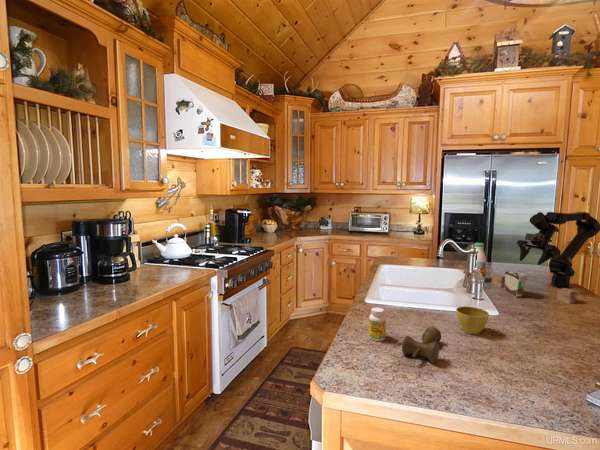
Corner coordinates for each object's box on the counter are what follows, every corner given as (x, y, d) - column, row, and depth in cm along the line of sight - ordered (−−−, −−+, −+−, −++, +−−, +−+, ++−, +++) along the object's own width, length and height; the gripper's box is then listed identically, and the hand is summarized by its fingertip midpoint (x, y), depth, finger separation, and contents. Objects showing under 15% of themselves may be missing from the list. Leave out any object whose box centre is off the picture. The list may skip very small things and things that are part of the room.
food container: (532, 299, 155) (534, 277, 154) (518, 299, 155) (520, 277, 154) (515, 290, 167) (517, 270, 166) (502, 290, 168) (504, 270, 166)
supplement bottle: (385, 335, 116) (386, 307, 115) (384, 342, 111) (385, 313, 110) (369, 333, 118) (370, 305, 117) (367, 340, 113) (368, 311, 112)
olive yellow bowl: (461, 323, 128) (462, 304, 127) (491, 331, 120) (493, 311, 120) (450, 331, 121) (451, 311, 120) (481, 340, 113) (483, 319, 113)
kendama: (449, 346, 110) (430, 372, 94) (418, 339, 116) (395, 362, 100) (449, 328, 110) (431, 350, 93) (418, 321, 115) (396, 341, 99)
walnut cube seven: (563, 298, 156) (564, 287, 155) (576, 302, 152) (577, 290, 151) (556, 300, 154) (557, 289, 153) (569, 303, 149) (570, 292, 149)
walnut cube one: (498, 283, 180) (499, 273, 179) (507, 286, 175) (508, 276, 174) (491, 284, 178) (492, 274, 177) (500, 287, 173) (501, 277, 172)
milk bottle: (469, 281, 183) (471, 243, 181) (468, 277, 190) (470, 241, 188) (485, 283, 180) (488, 244, 178) (484, 279, 187) (486, 242, 185)
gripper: (517, 224, 174) (502, 250, 173) (554, 228, 157) (537, 258, 156) (530, 235, 178) (515, 261, 177) (568, 241, 160) (551, 270, 159)
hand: (529, 262), depth 167 cm, fingers open, 9 cm apart
